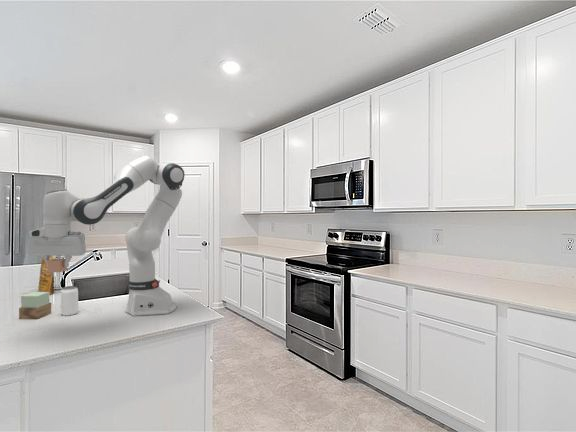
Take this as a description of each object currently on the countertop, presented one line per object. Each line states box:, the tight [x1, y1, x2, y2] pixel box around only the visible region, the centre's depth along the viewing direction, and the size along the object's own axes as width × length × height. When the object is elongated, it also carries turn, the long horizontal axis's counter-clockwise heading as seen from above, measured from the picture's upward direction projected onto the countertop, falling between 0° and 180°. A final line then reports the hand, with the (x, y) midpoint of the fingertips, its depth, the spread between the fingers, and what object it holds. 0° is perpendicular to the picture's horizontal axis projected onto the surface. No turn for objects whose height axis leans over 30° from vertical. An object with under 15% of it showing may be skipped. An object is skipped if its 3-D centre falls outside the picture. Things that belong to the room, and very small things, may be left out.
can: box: [60, 285, 79, 317], centre depth 148 cm, size 6×6×12 cm
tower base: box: [18, 302, 52, 320], centre depth 145 cm, size 8×8×5 cm
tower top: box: [20, 291, 50, 308], centre depth 144 cm, size 7×7×5 cm
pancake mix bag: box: [37, 256, 57, 296], centre depth 183 cm, size 7×19×28 cm, turn 52°
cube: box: [48, 258, 68, 273], centre depth 128 cm, size 4×4×4 cm
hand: (57, 266), depth 128 cm, fingers closed on cube, 4 cm apart
